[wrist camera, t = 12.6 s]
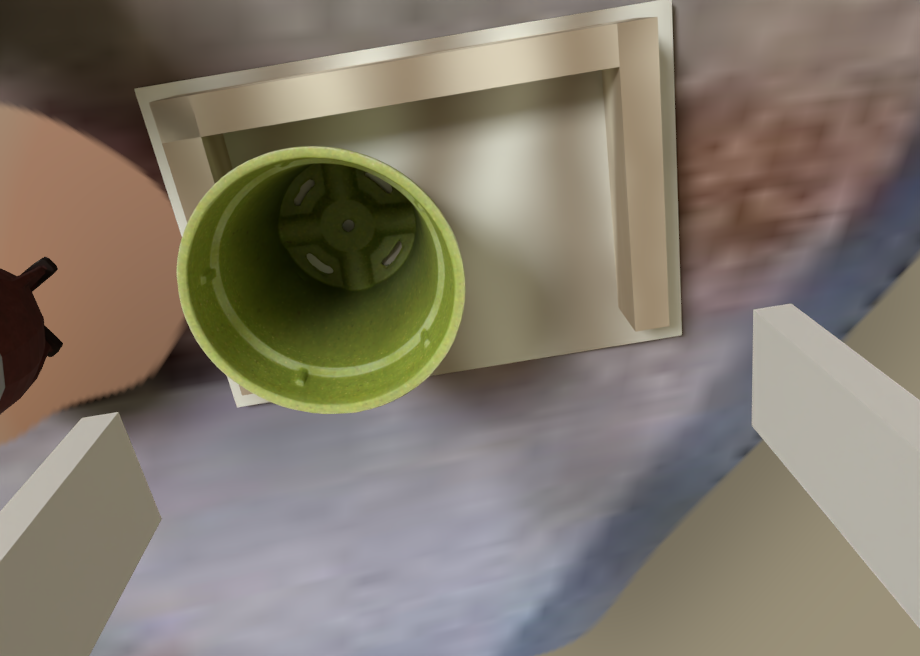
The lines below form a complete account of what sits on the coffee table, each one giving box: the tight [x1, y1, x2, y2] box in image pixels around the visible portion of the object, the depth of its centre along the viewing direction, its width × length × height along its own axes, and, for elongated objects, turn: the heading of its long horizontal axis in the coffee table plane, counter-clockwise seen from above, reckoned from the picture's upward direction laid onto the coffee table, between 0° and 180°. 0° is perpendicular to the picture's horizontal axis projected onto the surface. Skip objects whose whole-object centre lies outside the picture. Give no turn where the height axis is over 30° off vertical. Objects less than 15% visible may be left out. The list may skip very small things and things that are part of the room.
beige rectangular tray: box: [134, 0, 682, 407], centre depth 30 cm, size 22×15×4 cm
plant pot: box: [177, 146, 466, 414], centre depth 27 cm, size 9×9×9 cm
